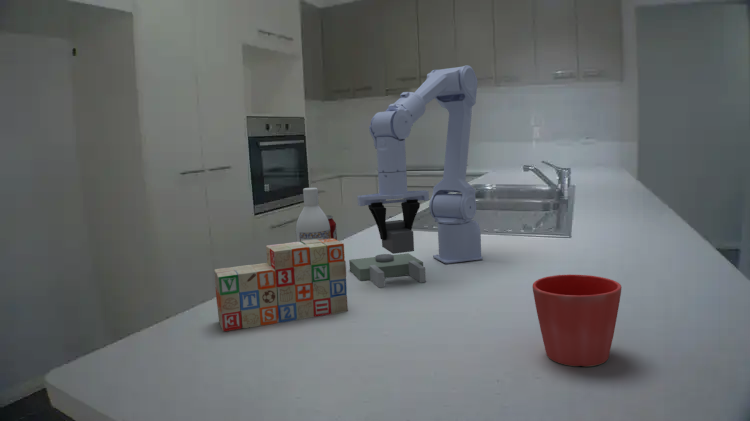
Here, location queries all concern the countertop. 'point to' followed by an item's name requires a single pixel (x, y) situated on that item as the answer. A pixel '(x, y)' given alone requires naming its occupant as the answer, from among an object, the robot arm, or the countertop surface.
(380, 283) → the forked grey-green block
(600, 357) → the flower pot
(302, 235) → the bath foam
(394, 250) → the grey block with ledge
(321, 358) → the countertop surface
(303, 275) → the stack of blocks
